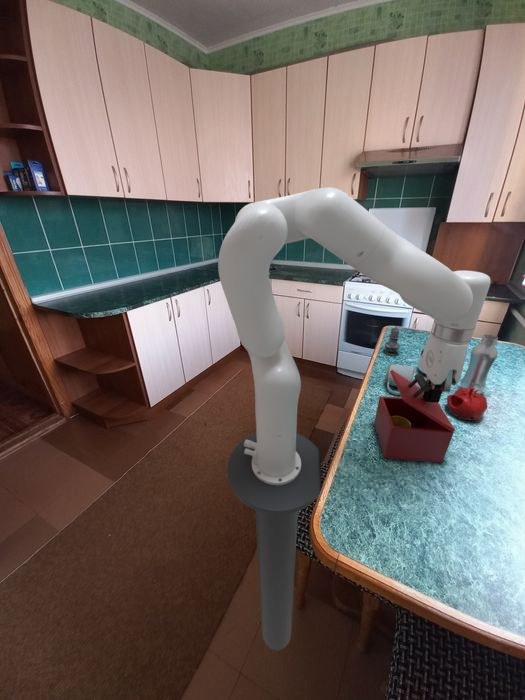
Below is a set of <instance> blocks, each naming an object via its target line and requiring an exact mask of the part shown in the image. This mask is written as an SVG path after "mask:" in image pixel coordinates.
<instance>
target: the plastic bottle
mask: <svg viewBox="0 0 525 700" xmlns="http://www.w3.org/2000/svg"><path fill="white" fill-rule="evenodd" d="M498 339H499V337H498V336H496V335H493V334H483V335H482V337H481V339H480V342H479V343H478V344H476V345H475V346H473V347H472V349H471V352H470V358H469V362H468V365H467V366H468V367H467V370H466V372H465V374H464V376H462V378H461V381H460V385H459V388H461V387H463V388H469V387H474V390H473V391H475V390H480V391H477V393H478V394H480V395H482V393H484V391H485V390H486V385H487V380H488V379H487V378H488V375H489V372H490V370H491V368H492V366H493V365H494V363H495V361H496V359H497V357H498V355H499V354H498V353H499V352H498V350H497V349H498V348H497V346H496V345H497V344H498Z"/></svg>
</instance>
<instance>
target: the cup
mask: <svg viewBox="0 0 525 700" xmlns="http://www.w3.org/2000/svg"><path fill="white" fill-rule="evenodd" d="M391 420H392V422H393V425H394V426H398V427H411V423H410V422H409V420H407V419H406V418H404V417H401V416H391Z"/></svg>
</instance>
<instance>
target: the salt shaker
mask: <svg viewBox="0 0 525 700" xmlns="http://www.w3.org/2000/svg"><path fill="white" fill-rule="evenodd" d="M399 334H400V329H399V328H398V327H397V326H394V327H393V328H391V330H390V334H389V336H388V337H389V339H388V341H387V342H385V343H384V347H385V349H384V350H383V353H384V354H385V355H387V356H392V357H394V356H397V355H398V352H397V351H398V350H399V348H400V347H401V345H400V344H399V343H398V339H399V338H400V337H399Z"/></svg>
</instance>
